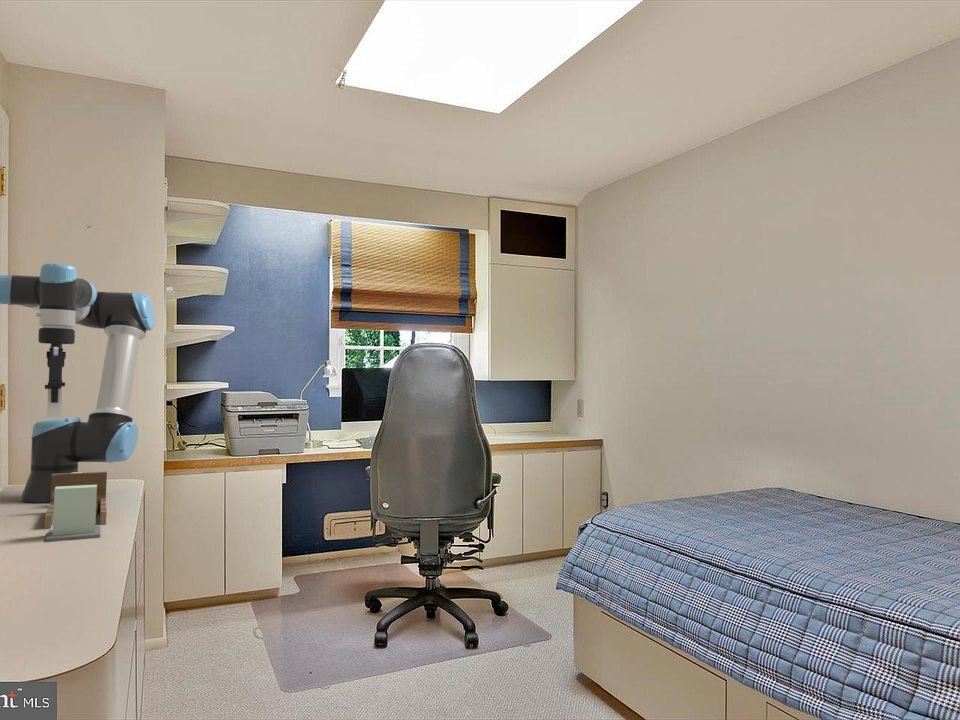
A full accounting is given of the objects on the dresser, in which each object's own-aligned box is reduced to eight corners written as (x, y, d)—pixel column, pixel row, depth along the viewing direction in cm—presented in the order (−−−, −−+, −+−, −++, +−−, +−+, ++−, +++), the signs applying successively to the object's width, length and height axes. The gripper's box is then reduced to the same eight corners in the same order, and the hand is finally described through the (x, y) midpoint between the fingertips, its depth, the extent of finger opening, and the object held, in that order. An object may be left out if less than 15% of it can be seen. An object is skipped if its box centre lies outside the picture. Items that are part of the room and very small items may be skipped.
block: (53, 531, 148) (55, 486, 149) (95, 528, 152) (97, 484, 153) (52, 535, 145) (54, 489, 145) (95, 532, 149) (96, 487, 149)
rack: (50, 512, 173) (52, 473, 173) (105, 509, 179) (106, 471, 179) (44, 528, 154) (46, 485, 154) (106, 524, 160) (107, 482, 161)
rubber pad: (49, 532, 150) (49, 529, 150) (100, 528, 155) (100, 525, 155) (46, 541, 142) (46, 538, 142) (100, 537, 147) (100, 534, 147)
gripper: (40, 328, 172) (38, 411, 172) (36, 325, 151) (33, 419, 151) (74, 330, 176) (72, 410, 176) (75, 326, 155) (72, 418, 154)
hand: (54, 414), depth 163 cm, fingers open, 13 cm apart
